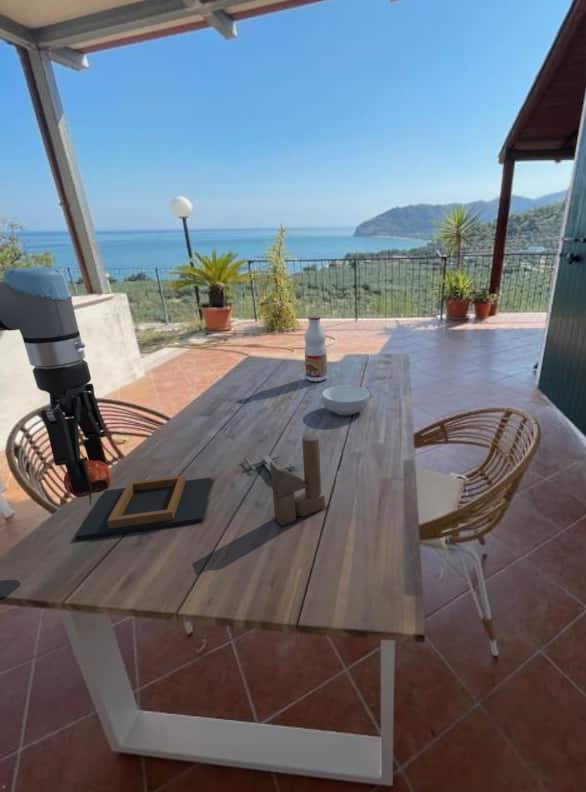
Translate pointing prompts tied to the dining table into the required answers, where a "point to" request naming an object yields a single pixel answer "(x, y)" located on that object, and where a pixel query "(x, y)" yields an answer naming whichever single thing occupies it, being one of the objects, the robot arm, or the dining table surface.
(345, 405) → the cereal bowl
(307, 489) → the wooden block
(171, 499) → the back pad
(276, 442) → the dining table surface
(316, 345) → the fruit juice
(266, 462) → the clamp
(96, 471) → the red round lump
